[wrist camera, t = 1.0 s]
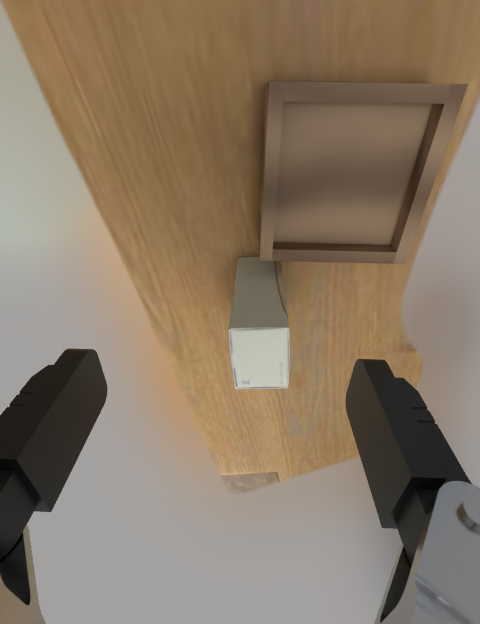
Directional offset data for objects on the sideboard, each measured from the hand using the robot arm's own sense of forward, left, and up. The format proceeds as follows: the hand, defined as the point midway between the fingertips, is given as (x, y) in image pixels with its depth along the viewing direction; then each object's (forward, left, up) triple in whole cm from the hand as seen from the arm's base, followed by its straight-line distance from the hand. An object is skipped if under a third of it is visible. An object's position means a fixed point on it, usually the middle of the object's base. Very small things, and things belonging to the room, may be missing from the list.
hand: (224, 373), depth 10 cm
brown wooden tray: (-2, +8, -22) cm, 24 cm away
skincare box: (+9, +2, -22) cm, 24 cm away
